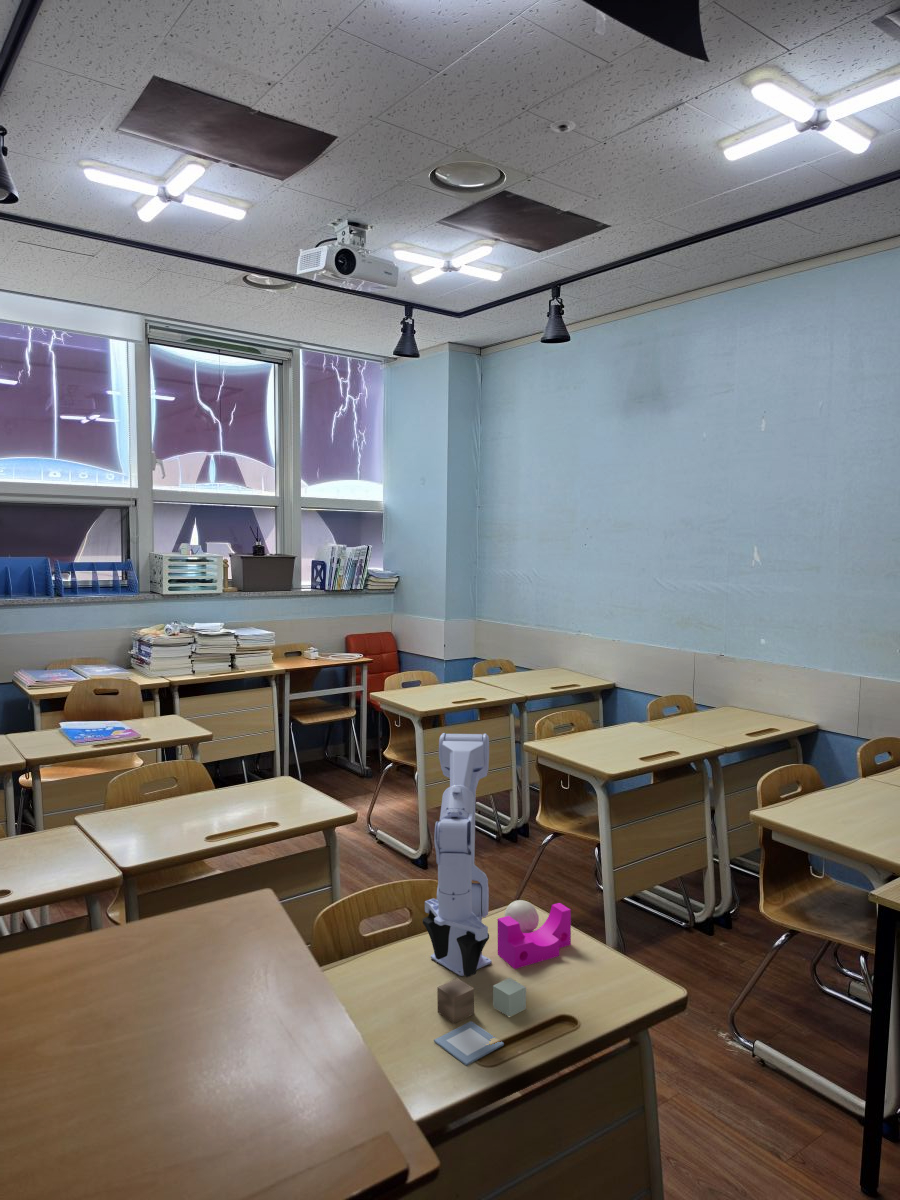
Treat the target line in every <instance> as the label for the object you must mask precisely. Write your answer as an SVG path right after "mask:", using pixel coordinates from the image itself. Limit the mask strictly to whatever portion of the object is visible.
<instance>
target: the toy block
mask: <svg viewBox="0 0 900 1200" xmlns="http://www.w3.org/2000/svg"><path fill="white" fill-rule="evenodd" d="M571 912H572V911H571V908H569V907H567V906H566V905H564V904H563V903H561V902H557V903H554V904H551V909H550V911H549V914H548V917H547V919H546V920H545V922H544V923H543V924H542V925H541V926H540V927H538V928H536V930H533V931H532V932H531V933H522V931H521V929H520V924H519V923H518V922H517V921H516V920H514V919H513V918H511V917H510V916H506V917H505V916H503V917H499V918H497V955H498V956H499V957H500V958H501V959H502V960H503V961H505V963H507V964H508V965H510V967H512V968H513V969H514V970H517V969H519V968H523V967H527V966H530V965H533V964H536V963H540V962H544V961H547V960H551V959H553V958H557V957H560V949H561V948H565V947H567V946H571V945H572V942H571V941H572V938H571V937H572V935H571V934H572V931H571V930H572V926H571V925H572V914H571Z"/></svg>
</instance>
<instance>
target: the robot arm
mask: <svg viewBox="0 0 900 1200" xmlns="http://www.w3.org/2000/svg"><path fill="white" fill-rule="evenodd" d="M438 761H439V764H440V770H441V771H442V775H443V776H444V777H447V778H448V779H449V787H447V788H446V789H445V790H444V792H443V793H442V797H441V806H440V814H439V820H438V821H437V820H436V822H435V825H434V838H433V839H434V843H433V844H434V849H435V857H436V860H435V861H436V864H437V890H436V898H434V897H433V898H430V899H427V900H425V901H424V912H425V913H426V914H428V915H427V916H426V917H423V918H422V924H423V926H424V927H425V929H426V931H427V933H428V935H429V938H430V941H431V945H432V949H433V954H431V955H430V958H431V960H433V961H435V962H437V963H438V964H440V965H442V966H443V967H445V968H447V969H449V970H450V971H451V972H453V973H455V974H456V975H458V976H460V977H466V978H469V977H472V976H474V975H475V974H476V973H477V970H479V969H480V968H483V967H485V966H489V965H490V964H492V959H490V958H488V957H487V956H485V955H483V951H484V948H485V946H486V944H487V943H488V941H489V939H490V933H488V932H489V931H488V929H489V927H488V926H487V925H486V924H484V923H483V918H486V917H487V916H488V915H489V901H490V900H489V898H490V897H489V892H490V891H489V879H488V877H487V874H486V873H485V872H484V871H483V870H482V869H480V868H479V867H478V866H477V865H476V864H475V857H476V856H475V854H476V853H475V851H476V850H475V848H476V847H475V846H476V843H475V841H476V802H477V801H476V799H477V798H476V795H477V794H476V793H477V787H478V783H479V781H480V780H481V779H483V778H486V777H487V776H488V772H489V766H490V765H489V764H490V763H489V762H490V736H489V735H488V734H487V733H446V732H443V733H441V735H440V736H439V740H438ZM472 881H475V883H474V882H472ZM477 882H478V883H477Z"/></svg>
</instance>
